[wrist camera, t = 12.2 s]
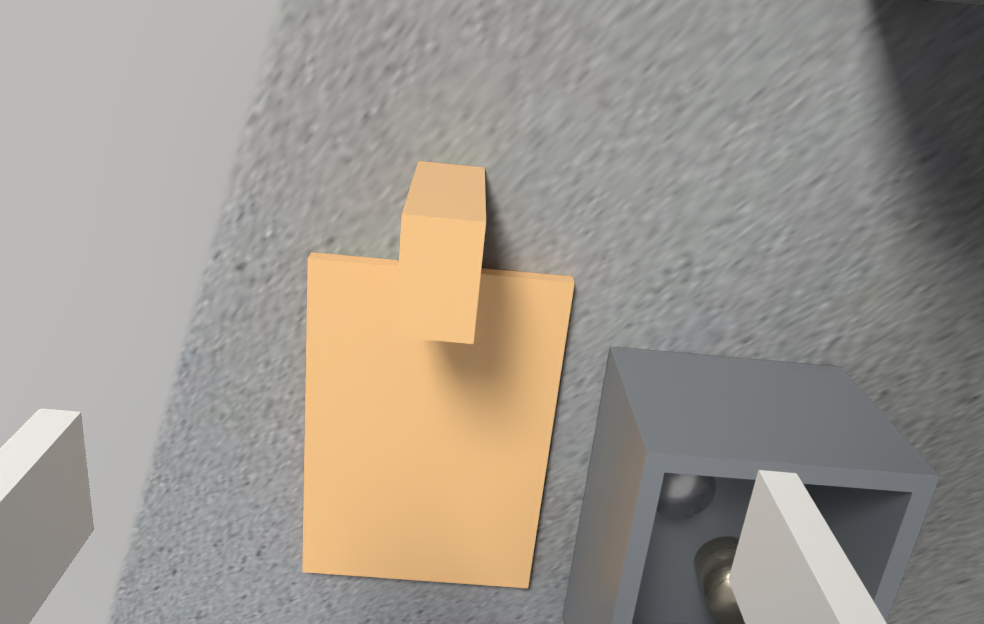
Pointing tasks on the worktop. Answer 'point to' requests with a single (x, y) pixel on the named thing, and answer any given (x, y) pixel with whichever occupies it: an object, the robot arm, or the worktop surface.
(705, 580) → the part
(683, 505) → the part
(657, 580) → the tub
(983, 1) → the bottle
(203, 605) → the worktop surface
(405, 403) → the lid
